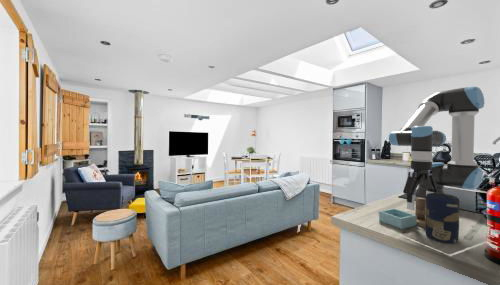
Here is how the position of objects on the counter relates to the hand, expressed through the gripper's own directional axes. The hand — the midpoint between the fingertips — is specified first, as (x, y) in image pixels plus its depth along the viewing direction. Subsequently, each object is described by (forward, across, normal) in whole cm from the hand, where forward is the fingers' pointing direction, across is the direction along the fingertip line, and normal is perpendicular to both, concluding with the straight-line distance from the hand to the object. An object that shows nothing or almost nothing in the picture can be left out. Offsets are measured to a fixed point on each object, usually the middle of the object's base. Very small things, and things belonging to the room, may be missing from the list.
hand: (420, 207), depth 98 cm
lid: (+6, 0, 0) cm, 6 cm away
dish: (+7, +11, -3) cm, 13 cm away
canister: (+7, +10, +13) cm, 18 cm away
